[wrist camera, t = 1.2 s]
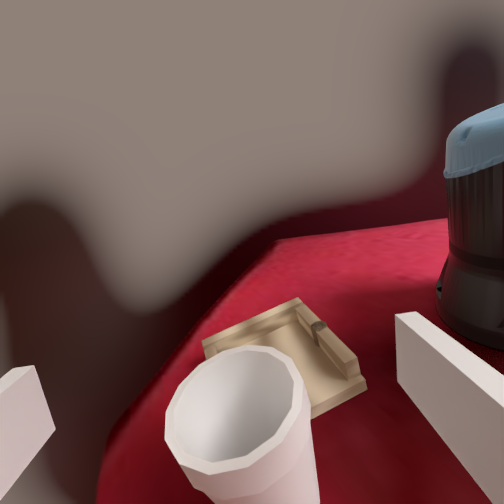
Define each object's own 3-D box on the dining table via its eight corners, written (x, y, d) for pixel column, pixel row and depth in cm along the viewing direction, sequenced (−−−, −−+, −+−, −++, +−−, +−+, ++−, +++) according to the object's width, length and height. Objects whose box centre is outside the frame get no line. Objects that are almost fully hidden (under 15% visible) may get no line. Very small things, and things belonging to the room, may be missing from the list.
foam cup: (221, 472, 29) (167, 373, 24) (309, 432, 30) (276, 329, 25) (240, 615, 20) (161, 506, 15) (364, 552, 21) (329, 430, 16)
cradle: (305, 318, 46) (299, 296, 44) (369, 388, 32) (363, 360, 30) (209, 362, 43) (199, 341, 41) (234, 460, 29) (221, 433, 28)
